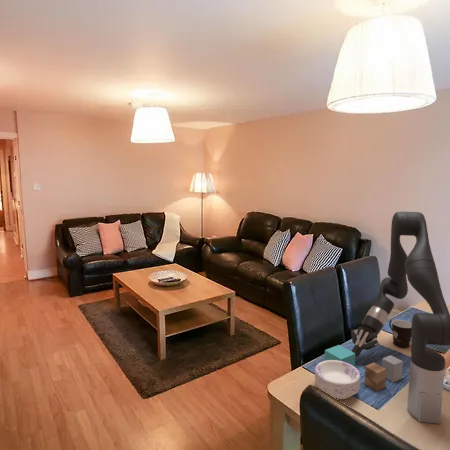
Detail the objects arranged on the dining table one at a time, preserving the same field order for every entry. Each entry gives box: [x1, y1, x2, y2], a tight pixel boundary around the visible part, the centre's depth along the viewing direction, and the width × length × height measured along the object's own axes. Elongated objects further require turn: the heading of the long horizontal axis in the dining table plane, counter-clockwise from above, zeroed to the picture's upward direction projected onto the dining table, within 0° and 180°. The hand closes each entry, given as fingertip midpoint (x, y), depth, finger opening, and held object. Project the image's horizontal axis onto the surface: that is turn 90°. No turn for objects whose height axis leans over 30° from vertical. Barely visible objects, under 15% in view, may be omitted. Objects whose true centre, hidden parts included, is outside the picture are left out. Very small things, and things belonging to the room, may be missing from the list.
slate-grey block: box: [381, 354, 404, 383], centre depth 128 cm, size 5×5×7 cm
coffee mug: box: [388, 319, 412, 349], centre depth 153 cm, size 12×9×10 cm
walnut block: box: [363, 362, 387, 392], centre depth 123 cm, size 5×5×7 cm
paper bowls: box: [314, 360, 361, 400], centre depth 120 cm, size 15×15×8 cm
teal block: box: [324, 344, 356, 368], centre depth 132 cm, size 8×8×8 cm
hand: (354, 355), depth 137 cm, fingers closed
